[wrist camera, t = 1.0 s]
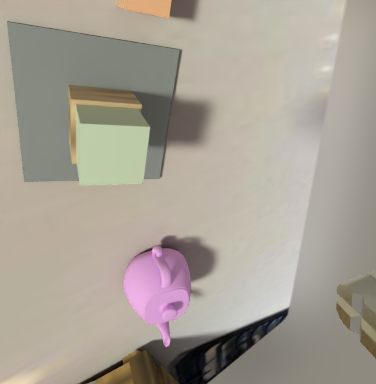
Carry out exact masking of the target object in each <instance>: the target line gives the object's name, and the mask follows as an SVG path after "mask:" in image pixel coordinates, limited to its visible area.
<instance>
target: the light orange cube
mask: <svg viewBox="0 0 376 384" xmlns="http://www.w3.org/2000/svg"><path fill="white" fill-rule="evenodd" d="M171 1H172V0H117V7H120V8H123V9H126V10H131V11H136V12H141V13H146V14H151V15H155V16H160V17H165V18H169V15H170V8H171Z"/></svg>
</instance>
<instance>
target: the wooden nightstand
mask: <svg viewBox="0 0 376 384" xmlns="http://www.w3.org/2000/svg"><path fill="white" fill-rule="evenodd" d="M122 360H123V365H122V366H121V367H119V368H117V369H115V370H113V371H112V372H110V373H108V374H106V375H104V376H103V377H101V378H99V379H97V380H95V381H96V383H97V384H179V383H178V382H177V381H176V380H175V379H174V378H173V377H172V376H171V375H170V374H169V373H168V372H167V371H166V370H165V369H164V368H163V367H162V366H161V365H159V366H158V367H156V366H155V364H154V361H153V357H152V356H151V355H150V354H149V353H148V352H147V351H146V350H144V351H143V352H141V351H140V350H139V349H138V350H137V351H135V352H133V353H131V354H129V355H128V356H126V357H124V358H122Z"/></svg>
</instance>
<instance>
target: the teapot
mask: <svg viewBox="0 0 376 384" xmlns="http://www.w3.org/2000/svg"><path fill="white" fill-rule="evenodd" d="M123 287H124V291H125V294H126V297H127V299H128V301H129V303H130V304H131V306H132V307H133V309H134V310H135V311H136V313H137V314H138V315H139V316H140V317H141V318H142V319H143V320H144V321H146V322H147V323H148V324H152V325H155V324H157V326H158V328H159V329H160V332H161V334H162V337H163V342H164V345H165V347H168V346H169V345H170V332H169V321H170V320H173V319H176V318H178V317H180V316H181V315H183V314H184V312H185V311H186V309H187V307H188V305H189V300H190V293H191V277H190V271H189V267H188V264H187V262H186V259H185V257H184V256H183V255H182V254H181V253H180V252H179V251H176V250H174V249H170V248H163V249H162V248H161V246H155V247H153V249H152V251H148V252H145V253H142V254H139V255H138V256H136V257H135V258H133V259H132V261H131V262H130V263H129V265H128V267H127V269H126V272H125V275H124V280H123Z"/></svg>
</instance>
